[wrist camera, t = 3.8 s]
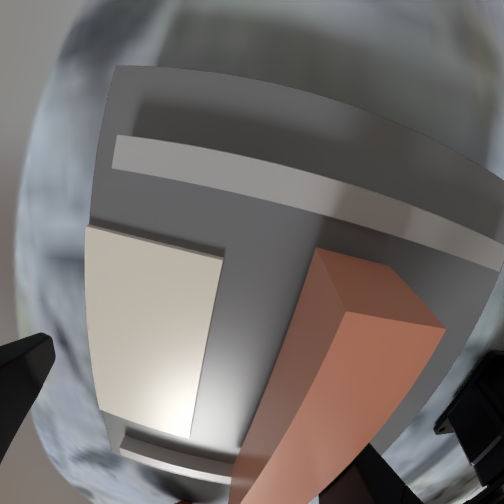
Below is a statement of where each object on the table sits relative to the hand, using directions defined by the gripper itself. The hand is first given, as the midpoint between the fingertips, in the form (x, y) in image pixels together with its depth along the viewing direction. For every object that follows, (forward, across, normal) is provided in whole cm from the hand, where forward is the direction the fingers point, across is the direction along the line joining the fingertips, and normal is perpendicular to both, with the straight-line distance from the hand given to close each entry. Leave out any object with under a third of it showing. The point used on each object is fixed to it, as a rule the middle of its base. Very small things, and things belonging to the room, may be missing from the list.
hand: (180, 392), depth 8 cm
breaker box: (+4, -3, 0) cm, 5 cm away
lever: (+1, -3, 0) cm, 4 cm away
